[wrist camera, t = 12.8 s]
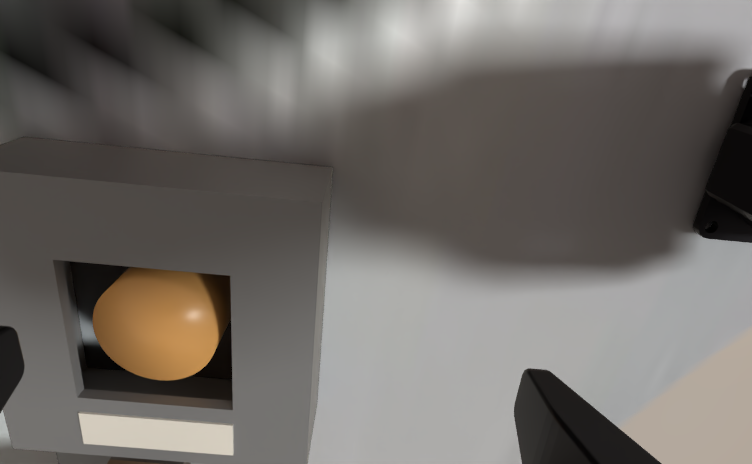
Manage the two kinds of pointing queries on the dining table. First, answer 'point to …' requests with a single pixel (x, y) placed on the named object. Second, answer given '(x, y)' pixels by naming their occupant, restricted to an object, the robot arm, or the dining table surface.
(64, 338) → the box
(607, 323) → the dining table surface
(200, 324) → the button
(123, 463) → the long wooden beam
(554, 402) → the robot arm
